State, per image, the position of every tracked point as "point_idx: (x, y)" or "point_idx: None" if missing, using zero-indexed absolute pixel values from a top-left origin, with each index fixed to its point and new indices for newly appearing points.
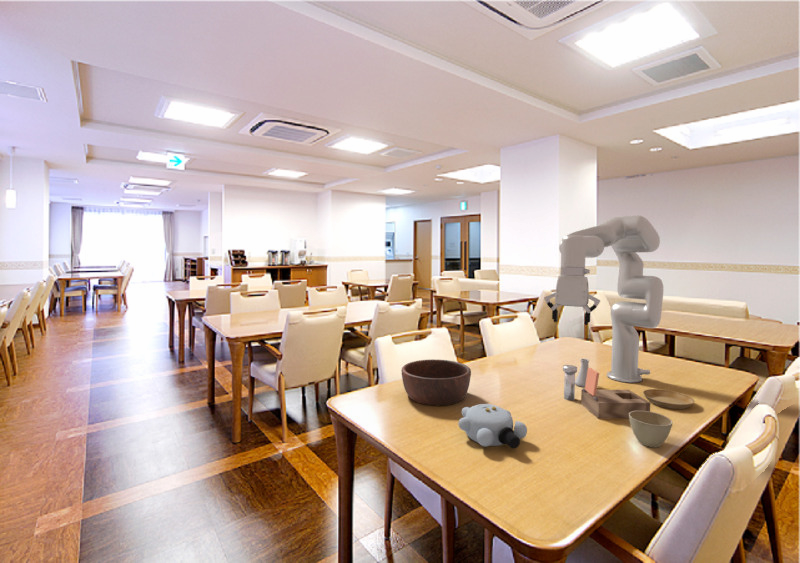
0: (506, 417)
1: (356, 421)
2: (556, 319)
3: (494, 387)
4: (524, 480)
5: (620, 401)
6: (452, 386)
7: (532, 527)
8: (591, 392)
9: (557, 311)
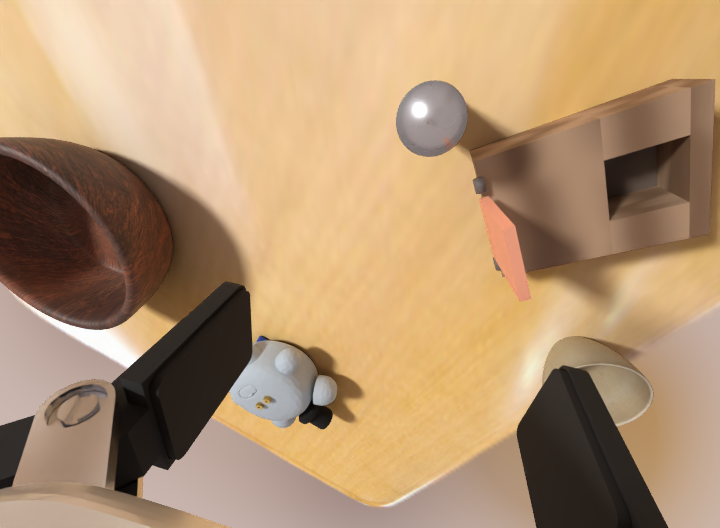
0: (296, 408)
1: (105, 354)
2: (239, 355)
3: (189, 85)
4: (351, 447)
5: (586, 247)
6: (142, 305)
7: (366, 494)
8: (492, 247)
9: (173, 391)
